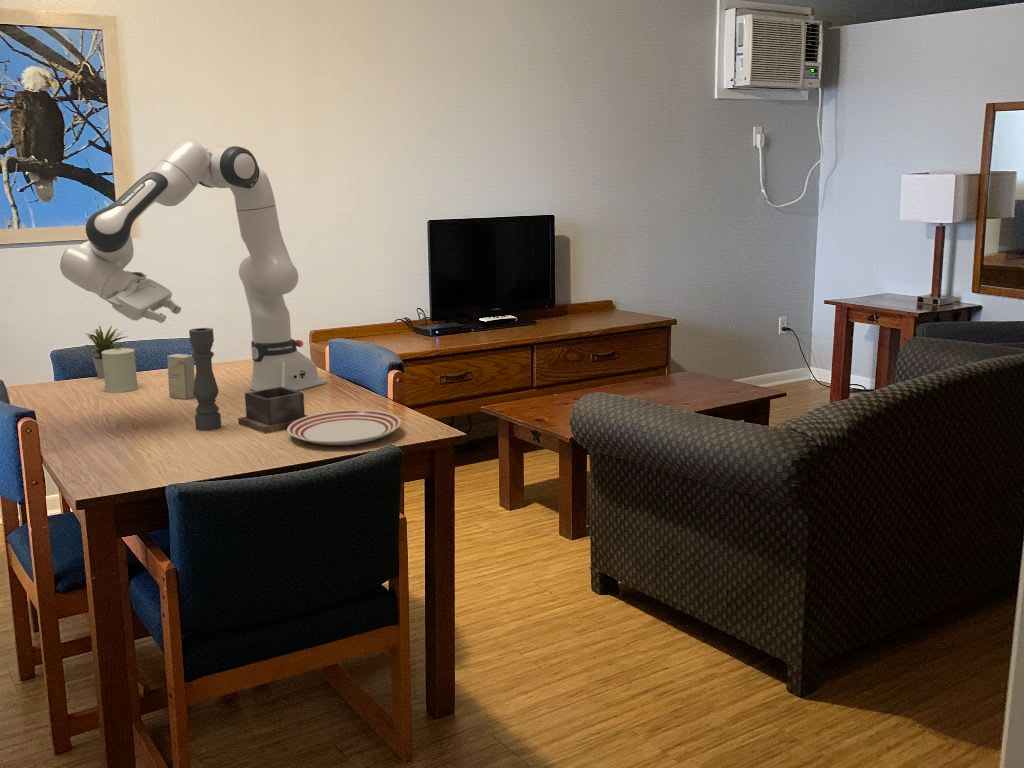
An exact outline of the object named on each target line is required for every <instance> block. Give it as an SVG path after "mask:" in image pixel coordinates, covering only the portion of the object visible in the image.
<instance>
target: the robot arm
mask: <svg viewBox="0 0 1024 768" xmlns="http://www.w3.org/2000/svg"><path fill="white" fill-rule="evenodd" d="M271 184H272V183H271V182H270V179H269V177H268V174H267V173H266V172H265V171H264V170H263V169H260V167H259V165H258V162H257V160H256V157H255V156H254V154H253V153H252V152H251V151H250V150H249V149H247V148H244V147H241V146H237V145H233V146H230V145H229V146H222V145H221V146H217V147H211V148H206V147H204V146H203V145H202V144H201V143H199V142H197V141H194V140H192V139H191V140H189V139H188V140H182V141H181V142H179V143H178V144H177V145H175V146H174V147H172V149H170V150H169V151H168V152H167V153H166V154H164V155H163V157H161V159H160V160H159V161H158V162H157V163H156V164H155V165H154V166H153V167H152V168H151V169H150V170H149V171H148V172H147V173H146V174H145V175H143V176H142V177H140V178H139V179H138V180H137V181H136V182H134V183H133V185H132V186H130V187H129V188H128V189H127V190H126V191H125V192H124V193H122V195H121V196H120V197H118V198H117V199H116V200H115V201H114V202H113V203H112V204H111V203H110V205H108V206H106V207H104V208H102V209H99V210H98V211H96V212H94V213H93V214H91V216H90V217H89V218H88V220H86V221H87V222H86V224H85V233H86V237H87V239H88V240H86V241H85V242H83V243H81V244H77V245H70V246H68V247H67V248H66V249H65V250H64V252H63V254H62V257H61V259H60V264H59V265H60V267H59V268H60V271H61V274H62V276H64V278H66V279H67V280H68V281H69V282H71V283H73V284H74V285H76V286H78V287H79V288H81V289H84V290H85V291H87V292H91V293H94V294H95V295H97V296H98V297H99V298H100V299H102V300H104V301H106V302H108V303H109V304H110V305H111V308H113V310H115V312H118V313H119V314H121V315H123V316H125V317H126V318H128V319H129V320H132V321H139V320H141V319H142V318H145V319H146V320H151V321H156V322H157V323H159V324H162V323H164V322H165V321H166V319H167V316H166V315H165V314H164V313H161V312H159V313H158V312H156V311H157V310H159V309H161V308H163V307H164V308H168V309H169V310H170V312H171V313H173V314H175V315H178V314H180V313H181V311H182V306H180V305H177V304H176V303H175V302H174V301H173V300H172V299H171V298H172V295H173V292H172V291H171V290H170V289H169V288H167V287H166V286H164V285H163V284H162V283H161V284H160V283H159V282H157V281H155V280H153V279H150V278H147V275H146V274H145V273H143V272H140V271H128V270H124V269H125V268H126V266H128V265H129V263H130V262H131V261H132V259H133V257H134V254H135V253H134V251H135V250H134V249H135V248H134V244H133V240H132V235H131V232H132V228H133V225H134V223H135V221H136V220H137V219H138V218H140V217H141V216H142V214H143V213H144V212H145V211H147V210H148V208H150V207H151V206H152V205H153V204H154V203H157V204H159V205H162V206H166V207H175V206H178V205H179V204H180V203H181V202H183V201H184V200H186V199H187V198H188V197H189V195H190V194H191V193H192V192H193V191H194V189H195V188H196V187H197V186H198V185H201V186H203V187H205V188H210V189H212V188H216V189H230V191H231V192H232V194H233V196H234V204H235V208H236V209H235V210H236V215H237V220H238V225H239V232H240V238H241V239H242V241H243V242H244V244H245V246H246V250H247V251H248V253H249V256H247V257H245V258H244V259H243V260H242V261H241V262H240V263H239V267H238V276H239V278H240V280H241V282H242V285H243V289H244V293H245V297H246V302H247V304H248V308H249V313H250V320H251V321H250V322H251V334H252V336H251V337H252V340H251V343H250V344H251V345H250V346H251V356H252V360H253V361H252V363H253V364H252V375H251V383H250V386H249V389H250V390H251V391H253V392H254V391H260V390H265V389H271V388H276V387H284V388H288V389H291V390H295V391H300V390H304V389H307V388H313V387H316V386H320V385H323V384H327V380H326V379H327V378H325V377H323V376H320V375H319V373H318V368H317V365H316V363H315V362H314V360H312V359H310V358H309V357H308V356H305V355H304V354H303V353H301V352H300V351H299V350H298V349H297V347H299V348H302V347H303V346H304V343H305V342H304V341H302V340H300V339H296V340H295V339H293V338H292V331H291V330H292V329H291V313H290V311H289V309H288V307H287V304H286V301H285V297H284V295H286V294H287V295H288V294H289V293H291V292H292V291H294V289H295V288H296V287H297V285H298V282H299V273H298V270H297V267H295V265H294V263H293V262H292V260H291V257H290V254H289V252H288V249H287V246H286V244H285V242H284V239H283V238H284V237H283V236H282V235H283V234H282V232H281V227H280V221H279V217H278V216H279V215H278V210H277V206H276V199H275V195H274V192H273V188H272V185H271Z"/></svg>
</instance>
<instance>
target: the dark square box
mask: <svg viewBox="0 0 1024 768" xmlns="http://www.w3.org/2000/svg"><path fill="white" fill-rule="evenodd" d="M244 399H245V400H244V401H245V416H243V417H238V419H237V420H238V423H237V424H238V425H240V424H241V425H240V426H243V425H244V426H243V427H246V426H247V427H246V428H248V427H250V428H249V429H251V428H253V429H252V430H254V429H256V430H255V431H257V430H258V431H257V432H260V431H261V432H260V433H262V432H263V434H268V433H267V432H269V433H272V431H274V432H277V431H276V430H279V431H282V430H281V429H283V430H287V429H286V428H288V426H289V425H290V424H291V423H293V422H294V421H296V420H299V419H301V418H304V417H307V416H308V415H306V414H305V413H306V412H305V397H304V392H301V391H299V390H297V391H295V390H291V389H288V388H284V387H276V388H271V389H265V390H260V391H254V390H253V391H249V392H245V393H244Z"/></svg>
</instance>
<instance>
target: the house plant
mask: <svg viewBox="0 0 1024 768" xmlns="http://www.w3.org/2000/svg"><path fill="white" fill-rule="evenodd" d="M112 327H113V325H111V326H110V327H109V329H108V330H107V332H106V333H105V336H104V333H103V330H102V327H101V325H100V324H99V325H98V328H95V331H93V330H91V332H93V333H95V334H91V333H85V335H86V336H87V338H89V340H90V341H92V342H93V344H94V345H95V347H94V346H92V345H89V344H85V345H83V347H86V348H90V349H92V353H93V354H94V353H96V354H97V355H96V356H93V357H92V360H93V363H94V364H93V365H94V367H95V371H96V374H97V377H98V378H99V379H104V368H103V359H102V353H101V352H102V351H105V350H109V349H117V348H121V347H125V346H124V343H125V341H124V342H120V343H115V342H117V341H120V340H122V339H125V338H128V337H129V336H121V337H119V336H120V335H122V333H124V332H125V330H123V331H120V332H118V333H117V332H116V331H117V330H118V328H116V329H114V330H113V331H112V332H111V330H112ZM127 331H129V330H126V332H127Z"/></svg>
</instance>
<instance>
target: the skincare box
mask: <svg viewBox="0 0 1024 768" xmlns="http://www.w3.org/2000/svg"><path fill="white" fill-rule="evenodd" d="M166 360H167V375H168V376H167V379H168V394H169V398H170V399H171V398H172V399H178V400H179V399H181V400H189V399H192V398H195V397H194V394H193V388H194V382H195V376H196V373H195V359H194V358H193V357H192V354H185V353H184V354H182V353H174V354H170V355H167V356H166ZM191 397H192V398H191ZM188 398H189V399H188Z"/></svg>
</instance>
